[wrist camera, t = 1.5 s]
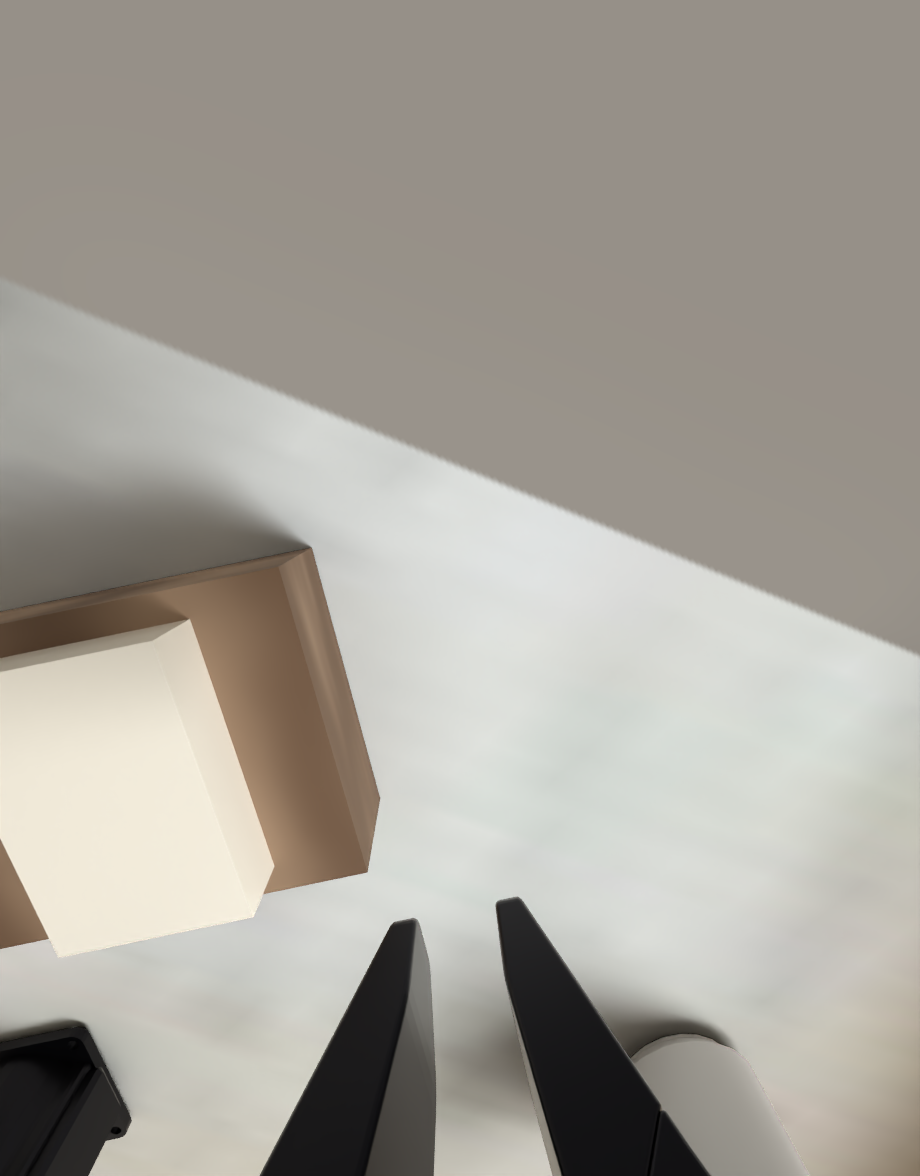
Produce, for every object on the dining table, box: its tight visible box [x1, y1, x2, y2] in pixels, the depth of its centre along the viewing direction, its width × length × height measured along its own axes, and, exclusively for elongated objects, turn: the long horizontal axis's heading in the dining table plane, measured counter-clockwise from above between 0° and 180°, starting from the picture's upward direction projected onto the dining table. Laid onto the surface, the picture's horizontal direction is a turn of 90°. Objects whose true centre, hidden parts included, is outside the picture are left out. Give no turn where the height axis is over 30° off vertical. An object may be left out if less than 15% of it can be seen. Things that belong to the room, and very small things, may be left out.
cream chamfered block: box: [0, 619, 274, 958], centre depth 15 cm, size 6×9×2 cm, turn 11°
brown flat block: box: [0, 548, 380, 949], centre depth 18 cm, size 14×11×4 cm
